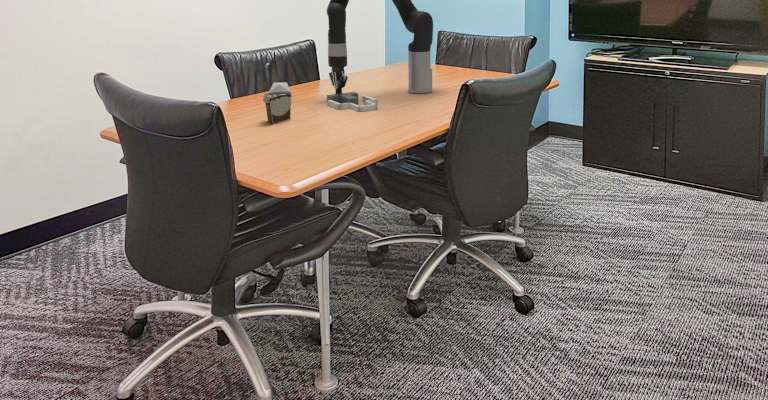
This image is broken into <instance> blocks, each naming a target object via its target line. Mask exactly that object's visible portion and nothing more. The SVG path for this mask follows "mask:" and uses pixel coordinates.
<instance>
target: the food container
mask: <svg viewBox="0 0 768 400" xmlns="http://www.w3.org/2000/svg"><path fill="white" fill-rule="evenodd" d="M291 93H292V91H291V92H289V91H279V92H270V93H269V92H267V93H265V94H264V95H263V99H262V101H263V102H264V103H265V110H266V116H267V123H268V124H269V123H270V124H269V125H275V124H276V123H277V124H280V123H282V122H286V121H290V120H291V116H292V114H291V113H292V111H291V108H292V107H291V106H292V103H291V101H292V100H291V99H292V98H293V94H292V95H291ZM277 124H276V125H277Z"/></svg>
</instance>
